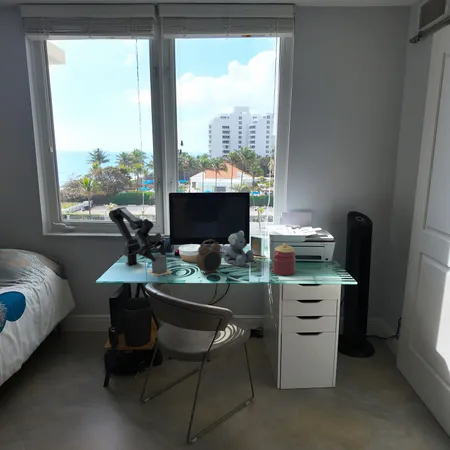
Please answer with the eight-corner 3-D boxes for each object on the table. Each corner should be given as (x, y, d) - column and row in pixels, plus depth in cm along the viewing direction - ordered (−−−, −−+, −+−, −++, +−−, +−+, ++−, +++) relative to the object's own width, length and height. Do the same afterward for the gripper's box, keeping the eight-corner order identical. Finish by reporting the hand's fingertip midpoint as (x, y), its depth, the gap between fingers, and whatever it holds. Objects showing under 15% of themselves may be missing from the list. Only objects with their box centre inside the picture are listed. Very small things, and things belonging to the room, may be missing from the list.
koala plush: (242, 267, 213) (242, 236, 209) (217, 262, 222) (217, 232, 218) (255, 260, 227) (255, 230, 223) (231, 255, 237) (231, 227, 232)
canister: (278, 277, 198) (279, 247, 194) (269, 269, 210) (270, 241, 206) (299, 275, 201) (300, 245, 197) (289, 267, 213) (290, 239, 209)
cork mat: (146, 271, 206) (146, 271, 206) (163, 268, 212) (163, 267, 212) (155, 277, 197) (154, 276, 197) (172, 273, 203) (172, 272, 203)
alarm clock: (202, 277, 197) (201, 243, 192) (195, 274, 202) (195, 240, 198) (223, 272, 205) (223, 239, 201) (216, 269, 211) (216, 236, 206)
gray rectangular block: (152, 272, 203) (151, 256, 201) (159, 269, 208) (158, 253, 206) (160, 274, 200) (159, 258, 198) (166, 271, 206) (166, 255, 203)
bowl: (175, 257, 233) (175, 245, 231) (198, 254, 240) (198, 243, 238) (183, 264, 219) (183, 252, 217) (207, 261, 226) (207, 249, 224)
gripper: (140, 232, 193) (157, 255, 190) (162, 226, 209) (178, 246, 206) (131, 244, 199) (146, 266, 196) (153, 237, 215) (168, 257, 212)
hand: (160, 258), depth 202 cm, fingers open, 9 cm apart
